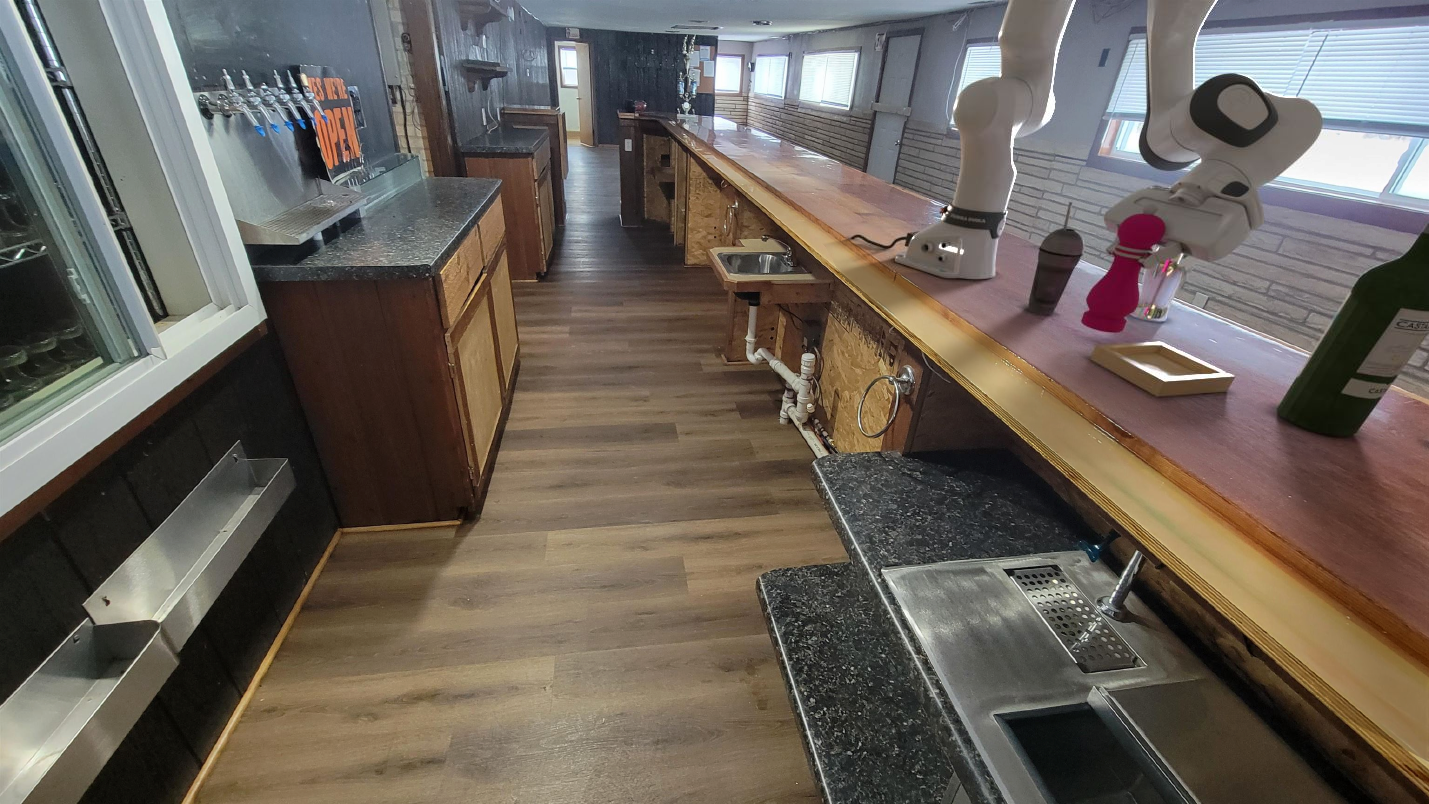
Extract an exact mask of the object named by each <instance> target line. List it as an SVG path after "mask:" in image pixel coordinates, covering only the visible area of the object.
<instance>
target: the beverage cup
mask: <svg viewBox="0 0 1429 804" xmlns="http://www.w3.org/2000/svg"><path fill="white" fill-rule="evenodd" d="M1072 206H1073V201H1069V202H1068V206H1067V211H1066V214H1065V220H1064V222H1063V227H1062V228H1058V229H1055V230H1053V231H1051V232H1050V233H1049V234H1047V235H1046V237H1045V238H1044V239H1043V240H1042V242H1041V244H1040V246H1039V247H1038V255H1037V264H1036V269H1035V272H1034V277H1033V280H1032V286H1031V290H1030V294H1029V297H1028V306H1027V311H1029V312H1031V313H1034V314H1038V315H1041V316H1051V315H1053V314H1054V312H1055V310H1056V308H1057V307H1058V304H1059V302H1060V300H1061V298H1062V296H1063V294H1064V291H1065V290H1066V287H1067V285H1068V284H1069V281H1070V279H1071V277H1072V276H1073V275H1072V274H1073V273H1074V270H1075V268H1076V267H1077V266H1078V264H1079V262H1080V260H1082V259H1081V258H1082V257H1083V256H1084V251H1085V241H1084V238H1083V236H1082V234H1080V233H1079V232H1078V231H1077V230H1075V229H1072V228H1068V224H1069V221H1070V215H1071V210H1072Z"/></svg>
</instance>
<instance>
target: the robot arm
mask: <svg viewBox="0 0 1429 804" xmlns="http://www.w3.org/2000/svg"><path fill="white" fill-rule="evenodd" d="M1217 1H1218V0H1147V13H1146V14H1147V17H1146V29H1145V30H1146V31H1145V47H1144V48H1145V49H1144V50H1145V52H1144V53H1145V55H1144V56H1145V93H1146V94H1145V96H1146V99H1145V100H1146V111H1145V117H1144V121H1143V124H1142V127H1141V129H1140V134H1139V137H1138V151H1139V154H1140V156H1141V158H1142V159H1143V161H1144V162H1145V163H1146V164H1147V165H1149V166H1150V167H1151V168H1153V169H1156V170H1159V171H1164V172H1176V171H1180V170H1184V169H1187V168H1188V167H1190V166H1192V165H1193V164H1194V163H1196V162H1197V161H1199V160H1200V162H1199V163H1197V164H1196V165H1195V166H1194V167H1193V168H1191V169H1190V170H1189V171H1188V172H1187V173H1185V174H1184V175H1183V176H1182V177H1180V178H1179V179H1178V180H1177V181H1175V182H1174V183H1173V184H1172V185H1171V186H1170V187H1162V186H1161V185H1157V184H1156V185H1151V186H1149V187H1145V188H1140V189H1138V190H1135V191H1134V192H1132V193H1130V194H1129V195H1127V196H1125V197H1124V198H1122V199H1121V200H1120V201H1118V202H1117V203H1115V204H1114V205H1113V206H1112V207H1110V208H1109V209H1107V211H1105V213H1104V215H1103V218H1102V219H1103V223H1104V225H1105V227H1106V229H1107V231H1108V232H1110V233H1113V234H1116V236H1115V237H1114V240H1113V242H1112V243H1111V244H1109V245H1108V246H1107V247H1106V248H1105V252H1106V254H1107V256H1109V257H1112V258H1114V257H1115V253H1114V252H1113V250H1114V249H1115V248H1116V244H1117V243H1120V240H1119V238H1118V234H1117V232H1118V228H1119V227H1120V225H1121V223H1122V222H1123V221H1124V220H1125V219H1126V218H1128V217H1130V216H1132V215H1135V214H1142V213H1143V208H1144V207H1145V206H1146V205H1148V204H1155V205H1156V206H1157V212H1156V213H1155V214H1153V215H1155V216H1158V217H1159V218H1161V219H1162V220H1163V222H1164V223H1165V233H1164V236H1163V238H1162V239H1161V240H1160V241H1159V242H1158V243H1156V244H1155V245H1154V246H1159V247H1162V248H1163V249H1160V250H1158V251H1156V252H1154V253H1148V252H1147V253H1146V254H1144V255H1143V257H1141V258H1139V260H1138V263H1139V264H1140V265H1139V266H1140V267H1141V268H1143V269H1144V270H1145V269H1151V268H1152V267H1153V266H1155V265H1156V264H1157V263H1160V262H1163V261H1166V260H1169V259H1172V258H1175V257H1176V256H1177V255H1179V254H1180V253H1181V254H1184V255H1188V256H1191V257H1194V258H1197V260H1201V261H1204V262H1207V263H1213V262H1216V261H1220V260H1222V259H1224V258H1226V257H1227V256H1228V255H1230V254H1231V253H1232V252H1233V251H1235V250H1236V249H1237V248H1238V247H1239V246H1241V245H1242V244H1243V243H1245V242H1246V240H1247V239H1248V238H1249V237H1250V235H1251V232H1252V231H1256V230H1258V229H1259V228H1260V227H1261V226H1263V225H1264V224H1265V212H1264V207H1263V204H1262V203H1263V202H1262V200H1261V197H1260V195H1259V192H1258V190H1259V189H1260V188H1261V187H1262V186H1264V185H1266V184H1268V183H1271V182H1272V181H1274V180H1275V179H1276V178H1279V176H1280V175H1282V174H1283V173H1284V172H1285V171H1287V170H1288V168H1290V167H1292V166H1293V165H1294V164H1295V163H1296V162H1297V161H1298V160H1299V159H1300V158H1301V157H1302V156H1303V155H1304V154H1306V153H1307V152H1308V150H1310V148H1311V147H1312V146H1313V145H1314V144H1315V143H1316V141H1317V140H1318V138H1319V137H1320V135H1321V132H1322V129H1323V125H1324V123H1323V122H1324V121H1323V115H1322V113H1321V111H1320V109H1319V108H1318V107H1317V105H1315V104H1314V102H1312V101H1311V100H1308V99H1306V98H1305V97H1302V96H1301V97H1300V96H1283V95H1279V94H1275V93H1272V92H1270V91H1268V90H1266V89H1264V88H1262V87H1261V86H1260V85H1259V84H1258V83H1257V81H1255V80H1254V79H1253V78H1252V77H1250V76H1247V75H1245V74H1242V73H1237V72H1236V73H1235V72H1228V73H1222V74H1218V75H1215V76H1212V77H1211V78H1209V79H1207V80H1205V81H1204V82H1203V83H1202V84H1200V85H1198V86H1197V87H1195V47H1196V42H1197V38H1198V36H1199V33H1200V30H1201V28H1202V26H1203V25H1204V22H1205V20H1206V19H1207V18H1208V15H1209V13H1210V12H1211V11H1212V9H1213V7H1214V6H1215V4H1216V3H1217ZM1075 2H1076V0H1008V4H1007V8H1006V10H1005V13H1004V16H1003V19H1002V23H1001V26H1000V29H999V33H998V36H997V39H998V41H997V42H998V47H999V49H1000V70H999V76H988V77H986V78H982V79H978V80H976V81H974V82H971V83H969V84H968V85H966V86H965V87H964V88H963V89H962V90H961V91H960V93H959V94H958V96H957V97H956V100H955V102H954V105H953V110H952V119H953V123H954V126H955V128H956V129H957V131H958V133H959V138H960V139H959V141H960V167H959V174H958V178H957V182H956V186H955V187H956V188H955V192H954V196H953V200H952V202H951V203H950V204H948V205H946V206H943V207H941V208H939V210H940V211H938V212H939V213H938V214H940V215H941V218H940V220H938V221H936V222H934V223H932V224H931V225H929V226H927V227H925V228H924V229H922V230H918V231H917V230H916V231H911V232H907V233H906V236H900V237H897V238H895V239H894V240H893V241H892V242H891V243H890V244H888V245H884V244H881V243H878V242H875V241H873V240H870V239H869V238H867V237H866V236H864V235H861V234H854V235H853V236H851V237H850V240H855V239H861V240H862V241H864V242H866V243H867V244H871V245H872V246H875V247H878V248H881V249H884V250H889V249H892V248H894V246H895V245H896V244H897V243H898V242H901V241H905V242H904V247H907V249H906V250H905V251H902V252H900V253H898V254H896V255H895V258H894V262H895V263H898V264H901V265H904V266H907V267H910V268H913V269H915V270H919V271H922V272H925V273H927V274H928V273H929V274H931V275H934V276H937V277H939V278H940V277H941V278H944V279H966V280H986V279H987V280H988V279H991V278H994V277H996V258H997V252H998V251H997V250H998V244H999V239H1000V237H1001V236H1002V234H1003V231H1004V228H1005V225H1006V220H1007V215H1008V210H1007V208H1008V205H1009V201H1010V198H1011V193H1012V190H1013V188H1014V183H1015V179H1016V177H1017V169H1016V166H1015V164H1014V159H1013V150H1014V149H1013V147H1014V139H1019V138H1023V137H1027V136H1028V135H1030V134H1033V133H1035V132H1037V131H1038V130H1041V129H1043V127H1044V126H1045V125H1046V124H1047V123H1048V122H1049V121H1050V119H1051V118H1052V115H1053V113H1054V110H1055V103H1056V100H1055V95H1054V91H1053V90H1054V89H1053V86H1054V78H1055V72H1056V64H1057V59H1058V53H1059V51H1060V50H1059V49H1060V45H1061V42H1062V39H1063V35H1064V33H1065V30H1066V27H1067V25H1068V22H1069V18H1070V17H1071V14H1072V10H1073V8H1074V5H1075Z"/></svg>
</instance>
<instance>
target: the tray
mask: <svg viewBox="0 0 1429 804" xmlns="http://www.w3.org/2000/svg"><path fill="white" fill-rule="evenodd" d="M1089 360H1091V361H1093V362H1095V363H1096V364H1097V365H1100V366H1101V367H1103V368H1105V369H1107V370H1109V371H1110V372H1112V373H1114V374H1116V375H1117V376H1119V377H1121V378H1123V379H1124V380H1126V381H1128V382H1130V383H1132V384H1133V385H1135V386H1137V387H1139V388H1141V389H1143V390H1144V391H1146V392H1148V393H1149V394H1151V395H1153V396H1155V397H1156V398H1161V397H1171V396H1172V397H1174V396H1184V395H1185V396H1186V395H1198V394H1199V395H1200V394H1212V393H1224V392H1228V391H1229V389H1230V387H1231V385H1232V384H1233V382H1234V380H1235V378H1236V375H1234V374H1232V373H1229V372H1227V371H1225V370H1222V369H1221V368H1218V367H1217V366H1214V365H1213V364H1210V363H1208V362H1206V361H1203V360H1201V359H1199V358H1197V357H1195V356H1193V355H1190V354H1189V353H1186V352H1184V351H1182V350H1180V349H1177V348H1175V347H1174V346H1171V345H1168V344H1167V343H1165V342H1162V341H1146V342H1143V341H1142V342H1126V343H1125V342H1124V343H1107V344H1095V346H1094V348H1093V351H1092V353H1091V356H1090V358H1089Z"/></svg>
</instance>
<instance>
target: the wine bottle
mask: <svg viewBox="0 0 1429 804" xmlns="http://www.w3.org/2000/svg"><path fill="white" fill-rule="evenodd" d="M1428 335H1429V221H1428V222H1427V224H1426V225H1425V226H1424V228H1423V229H1422V230H1421V231H1420V233H1419V235H1418V236H1417V238H1416V239H1415V240H1414V241H1413V243H1412V244H1411V246H1410V247H1409V249H1408V250H1406V251H1405V252H1404V253H1403V254H1402V255H1401V256H1399V257H1396V258H1393V259H1391V260H1388V261H1385V262H1382V263H1380V264H1377V265H1375V266H1372V267H1370V268H1369V269H1367V270H1365V271H1364V272H1363V273H1361V275H1359V277H1358V278H1357V280H1356V281H1355V283H1354V284H1353V286H1352V288H1350V291H1349V292H1348V294H1347V295H1346V297H1345V299H1344V300H1343V302H1342V303H1341V305H1340V307H1339V308H1338V310H1337V311H1336V313H1335V315H1334V317H1333V318H1332V320H1331V321H1330V323H1329V324H1328V325H1327V328H1326V329H1325V331H1324V332H1323V334H1322V336H1320V339H1319V340H1318V342H1317V343H1316V345H1315V346H1314V348H1313V350H1312V352H1311V353H1310V354H1309V357H1308V358H1307V360H1306V361H1305V363H1304V364H1303V366H1302V367H1301V368H1300V371H1298V374H1297V375H1296V377H1295V378H1294V379H1293V381H1292V383H1291V384H1290V387H1289V388H1288V390H1287V391H1286V393H1285V395H1284V396H1283V398H1282V399H1281V400H1280V403H1279V404H1278V406H1277V407H1276V412H1277V413H1278V416H1279V417H1281V418H1282V419H1283V420H1285V421H1286V422H1288V423H1290V424H1292V425H1295V426H1296V427H1299V428H1301V429H1303V430H1306V431H1309V432H1313V433H1316V434H1319V435H1324V436H1329V437H1336V438H1347V437H1348V438H1349V437H1351V436H1354V435H1356V434H1357V432H1359V430H1360V429H1361V427H1362V426H1363V424H1364V423H1365V422H1366V420H1367V419H1368V418H1369V416H1370V415H1371V414H1372V412H1373V411H1374V409H1375V408H1376V407H1377V406H1378V404H1379V403H1380V401H1381V400H1382V398H1383V397H1384V396H1385V394H1387V391H1388V390H1389V389H1390V387H1391V386H1392V385H1393V383H1394V382H1395V380H1396V379H1397V378H1398V376H1399V375H1400V374H1401V373H1402V371H1403V370H1404V368H1405V367H1406V365H1408V363H1409V361H1410V360H1411V358H1412V357H1413V355H1414V354H1416V352H1417V351H1418V349H1419V347H1420V346H1421V345H1422V344H1423V342H1424V341H1425V339H1426V338H1427V336H1428Z"/></svg>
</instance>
